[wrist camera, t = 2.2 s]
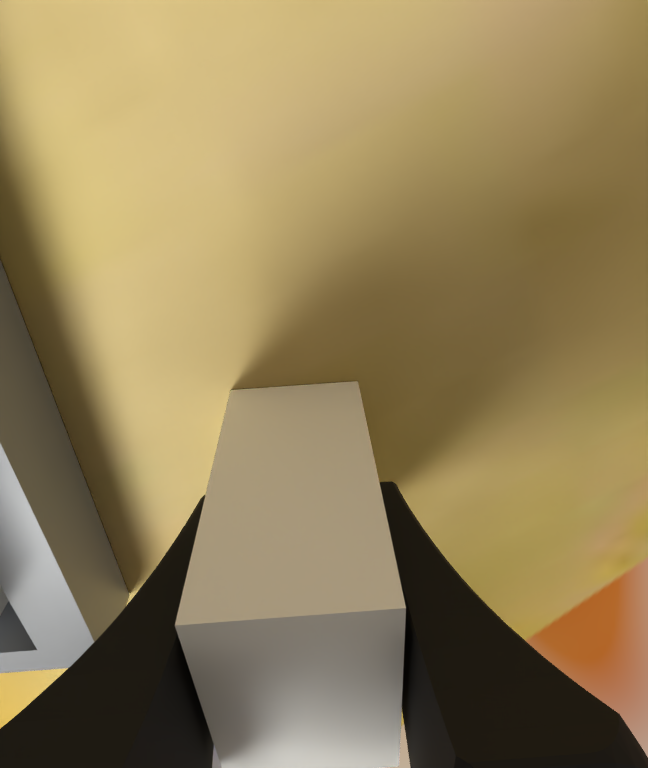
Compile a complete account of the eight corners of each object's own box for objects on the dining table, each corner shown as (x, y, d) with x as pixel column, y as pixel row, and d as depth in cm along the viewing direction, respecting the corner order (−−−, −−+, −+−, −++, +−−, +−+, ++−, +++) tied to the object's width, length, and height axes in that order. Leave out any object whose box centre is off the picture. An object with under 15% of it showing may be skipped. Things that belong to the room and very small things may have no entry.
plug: (360, 514, 16) (399, 766, 10) (253, 522, 16) (226, 779, 10) (357, 381, 14) (405, 608, 7) (230, 389, 14) (174, 625, 7)
